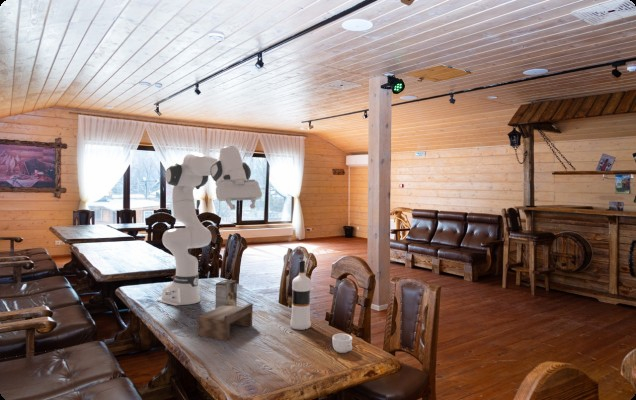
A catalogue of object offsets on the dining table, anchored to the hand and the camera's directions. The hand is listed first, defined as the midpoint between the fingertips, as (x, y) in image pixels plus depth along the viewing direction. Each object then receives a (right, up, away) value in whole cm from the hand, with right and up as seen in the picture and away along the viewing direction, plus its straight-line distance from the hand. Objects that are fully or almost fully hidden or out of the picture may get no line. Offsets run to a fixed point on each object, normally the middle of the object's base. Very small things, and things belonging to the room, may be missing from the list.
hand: (243, 208), depth 179 cm
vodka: (+24, -53, +9) cm, 59 cm away
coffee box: (-12, -52, +23) cm, 58 cm away
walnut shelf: (-8, -52, +2) cm, 53 cm away
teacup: (+42, -55, -17) cm, 71 cm away
